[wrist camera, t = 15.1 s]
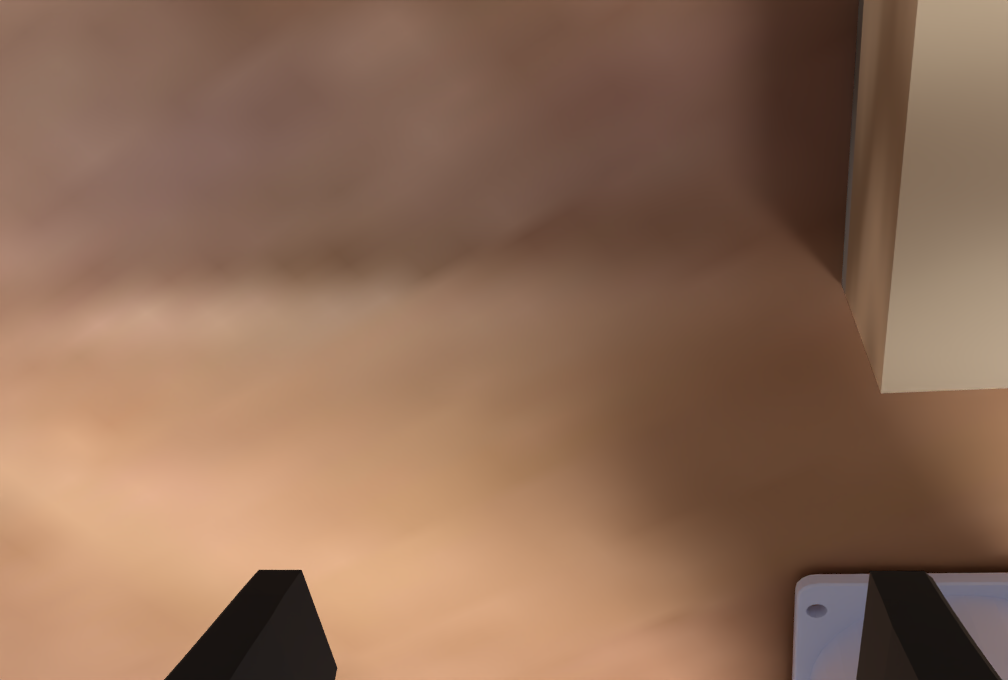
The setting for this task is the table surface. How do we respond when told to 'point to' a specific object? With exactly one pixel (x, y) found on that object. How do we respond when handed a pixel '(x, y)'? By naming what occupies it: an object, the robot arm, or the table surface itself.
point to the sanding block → (930, 194)
